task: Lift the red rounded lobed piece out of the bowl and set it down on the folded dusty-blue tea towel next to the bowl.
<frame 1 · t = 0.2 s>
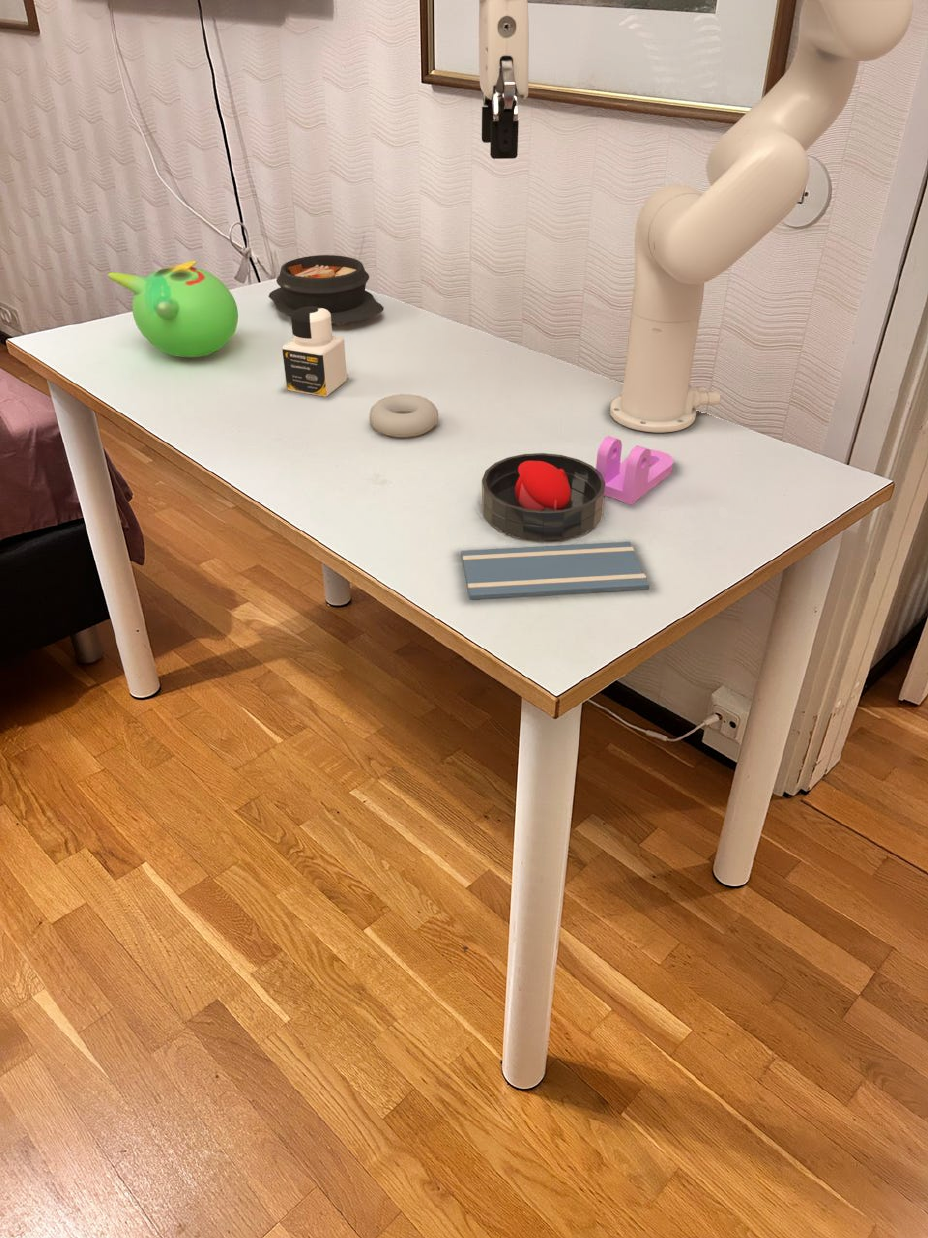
hand: (498, 149, 115), 37 cm above the table, tool pointing down, fingers open, 9 cm apart
toy bird: (190, 354, 159), on the table
casserole: (326, 312, 176), on the table
red rounded lobed piece: (541, 509, 117), resting in bowl
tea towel: (552, 571, 107), on the table
bowl: (541, 510, 117), on the table
medicine bottle: (317, 386, 149), on the table
donut: (404, 427, 137), on the table
bracket: (637, 480, 124), on the table
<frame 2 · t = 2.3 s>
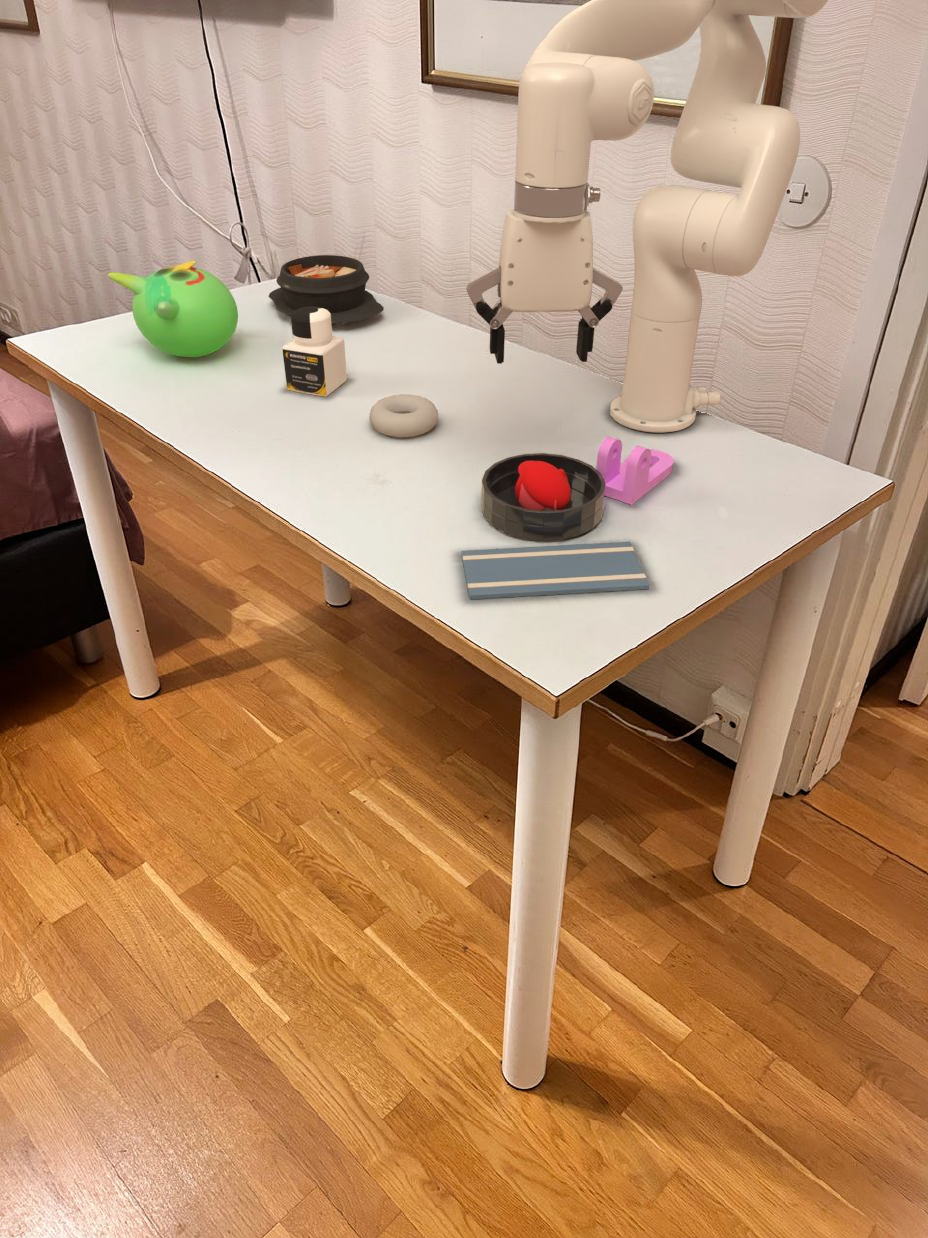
hand: (540, 358, 108), 19 cm above the table, tool pointing down, fingers open, 9 cm apart
nothing on the table moved.
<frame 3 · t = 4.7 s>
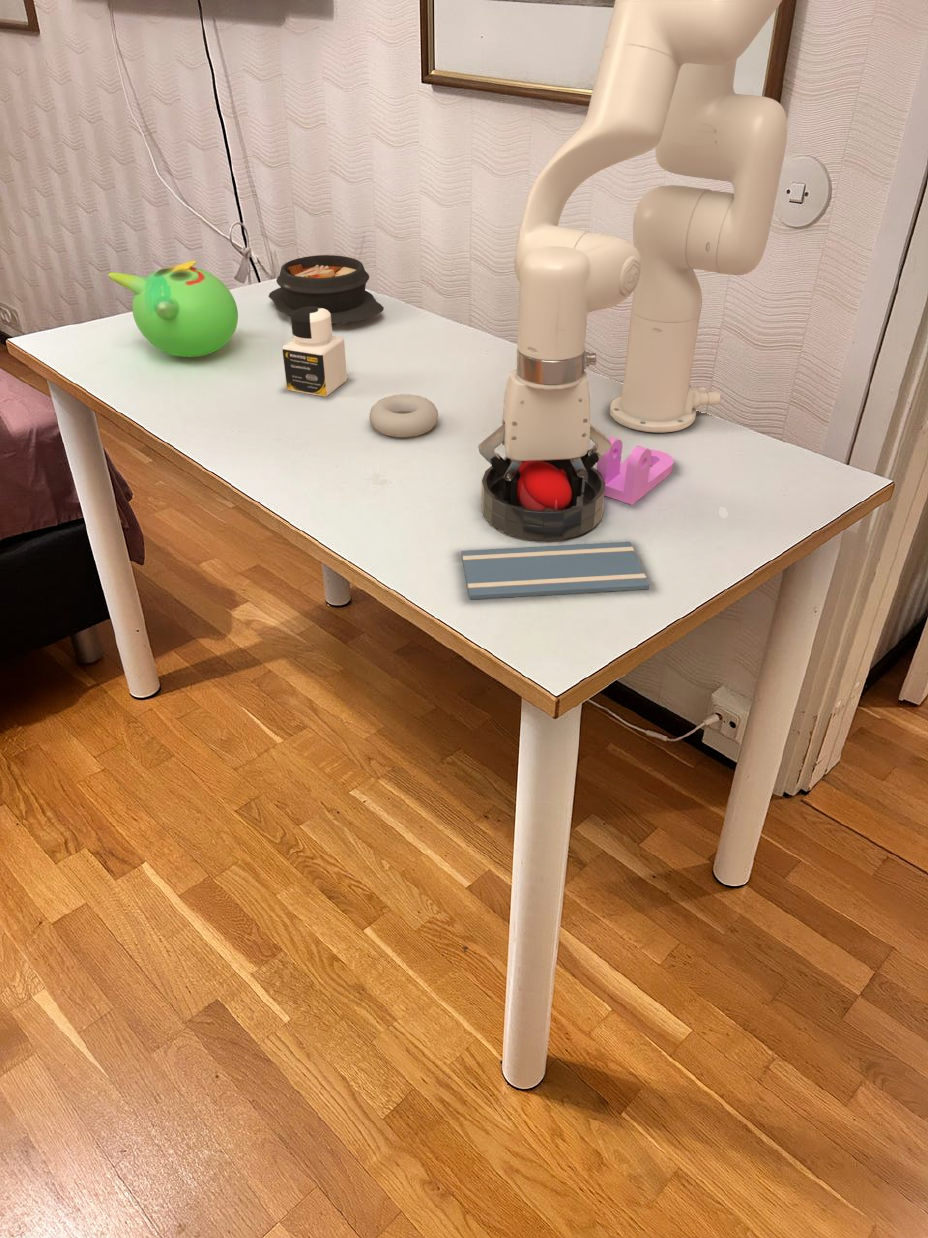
hand: (541, 501, 116), 1 cm above the table, tool pointing down, fingers closed on red rounded lobed piece, 6 cm apart
red rounded lobed piece: (542, 509, 117), resting in bowl, touching gripper
everything else where it was.
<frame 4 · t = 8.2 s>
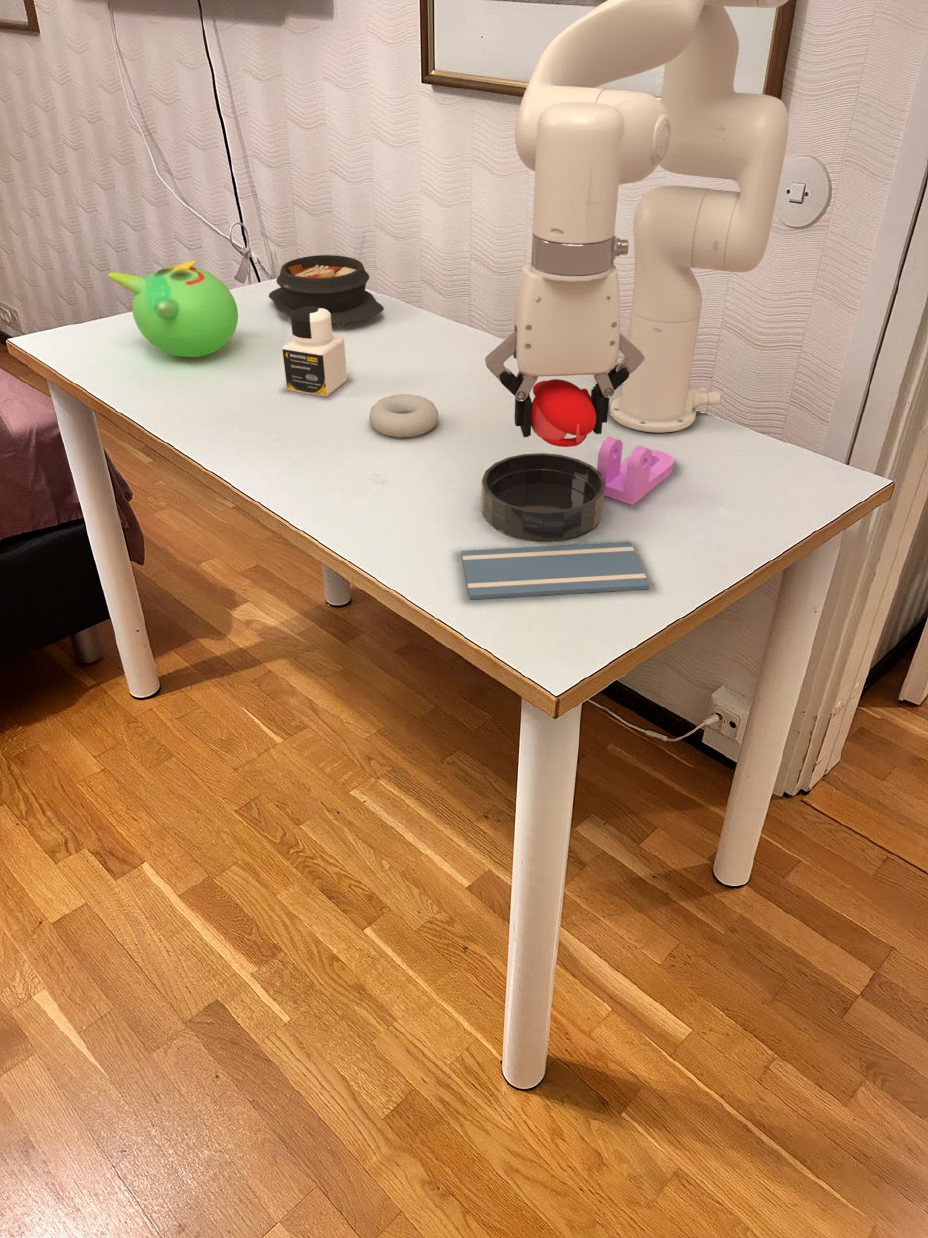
hand: (560, 428, 98), 17 cm above the table, tool pointing down, fingers closed on red rounded lobed piece, 6 cm apart
red rounded lobed piece: (560, 438, 99), point 16 cm above the table, touching gripper
everything else where it was.
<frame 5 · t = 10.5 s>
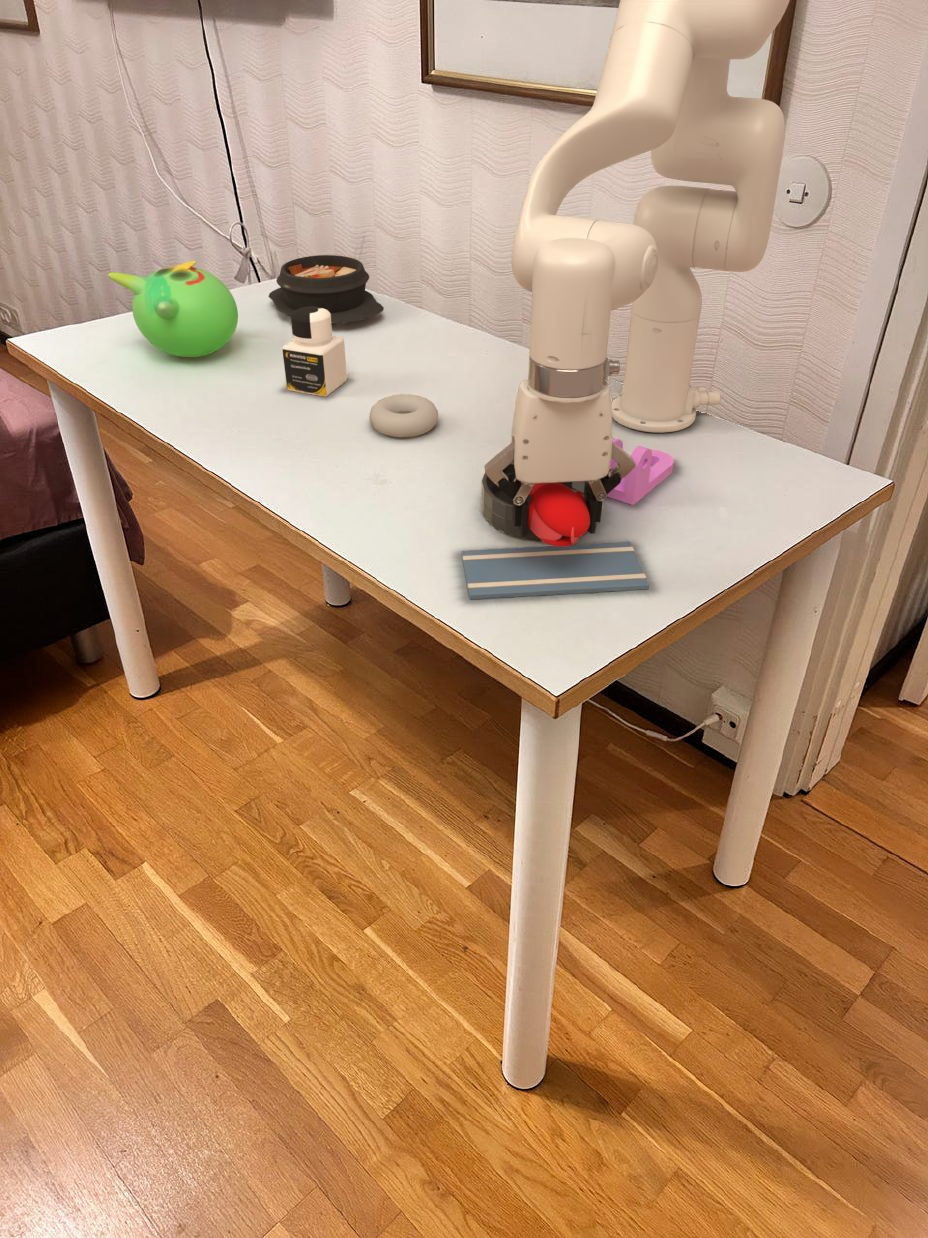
hand: (555, 527, 103), 6 cm above the table, tool pointing down, fingers closed on red rounded lobed piece, 6 cm apart
red rounded lobed piece: (556, 536, 104), point 5 cm above the table, touching gripper
everything else where it was.
when the fingers open (2 cm above the table, at t = 12.1 s): red rounded lobed piece stays where it is, resting on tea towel.
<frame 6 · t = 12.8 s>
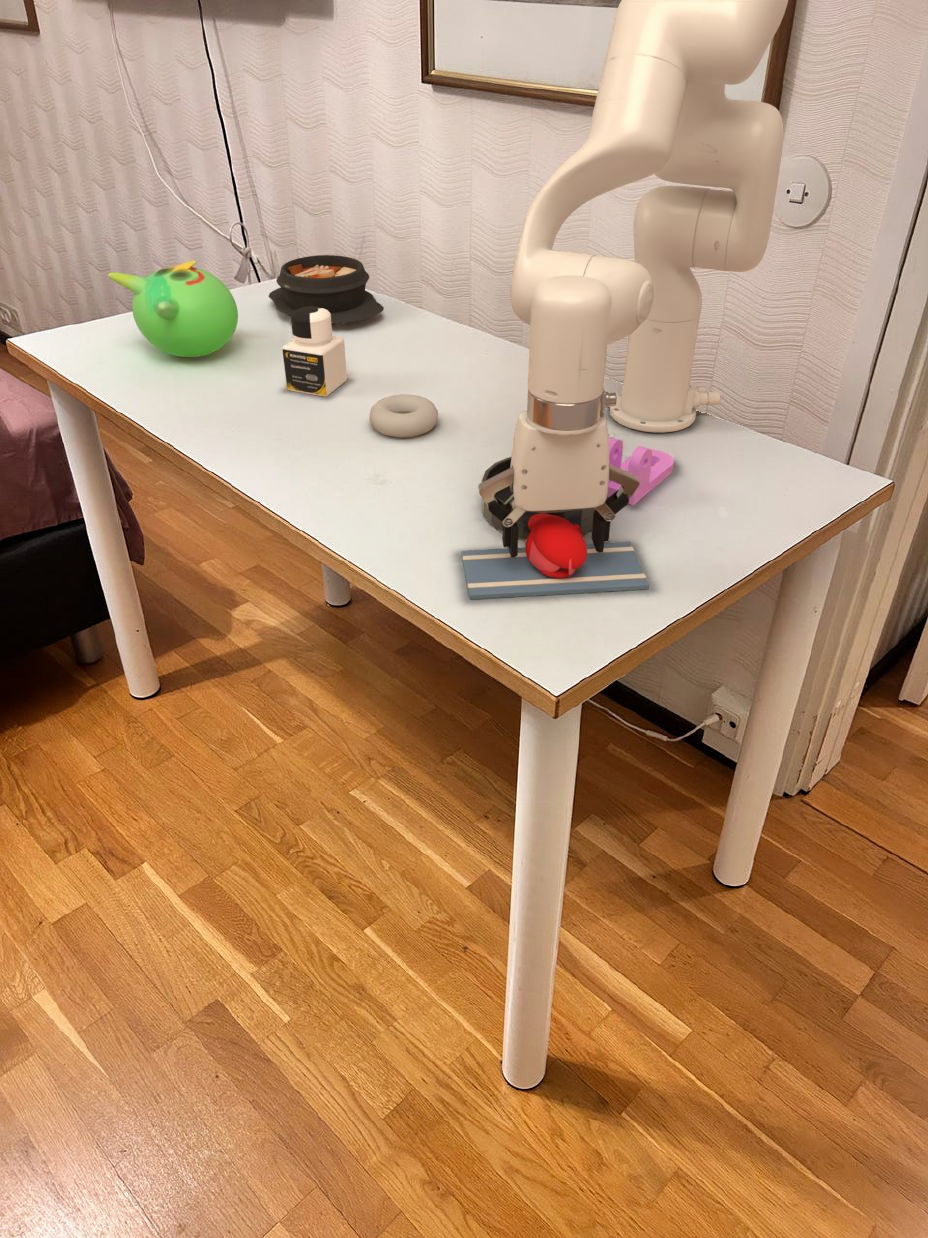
hand: (554, 548, 105), 3 cm above the table, tool pointing down, fingers open, 9 cm apart
red rounded lobed piece: (554, 567, 106), point 1 cm above the table, touching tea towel
everything else where it was.
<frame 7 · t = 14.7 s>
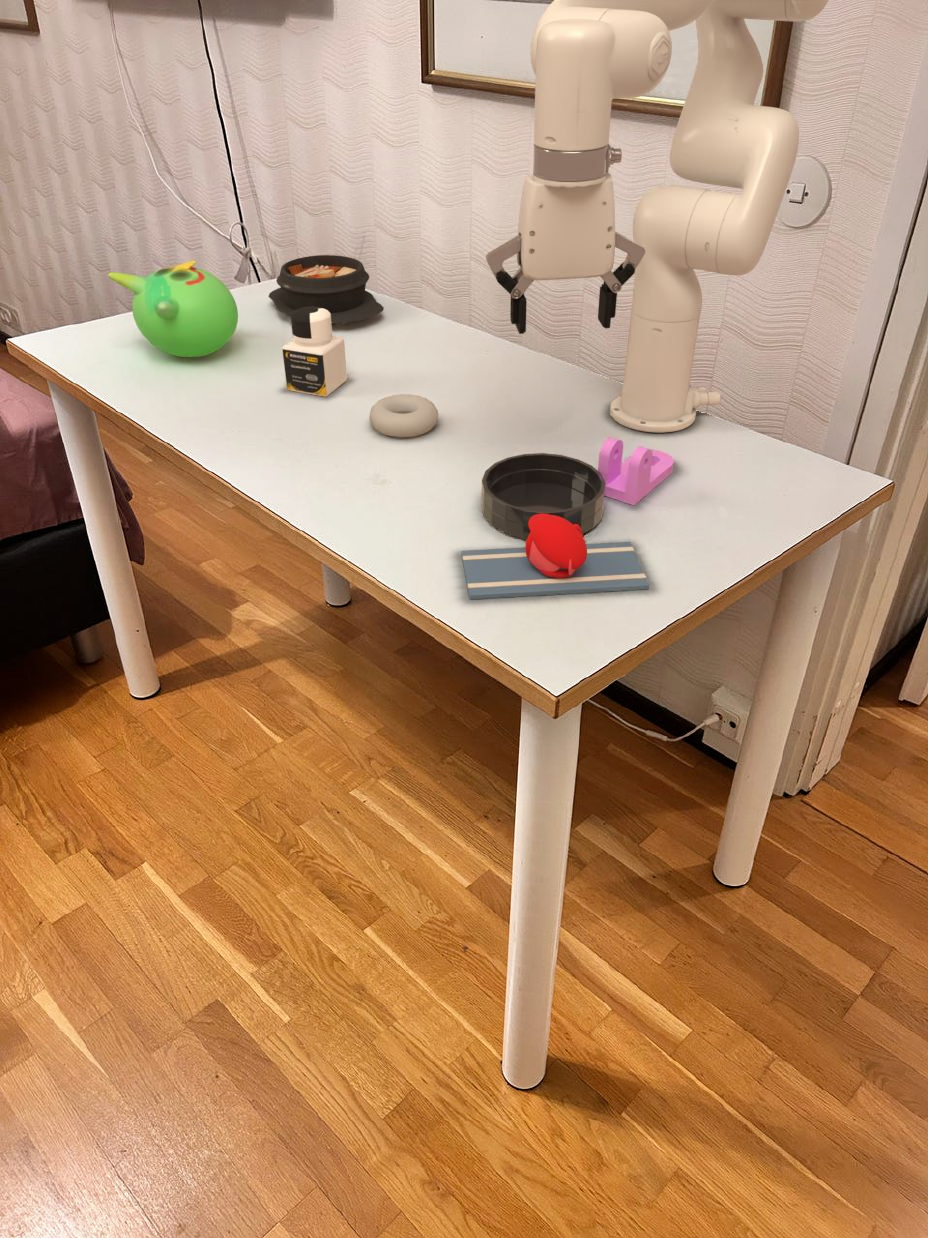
hand: (562, 326, 106), 22 cm above the table, tool pointing down, fingers open, 9 cm apart
nothing on the table moved.
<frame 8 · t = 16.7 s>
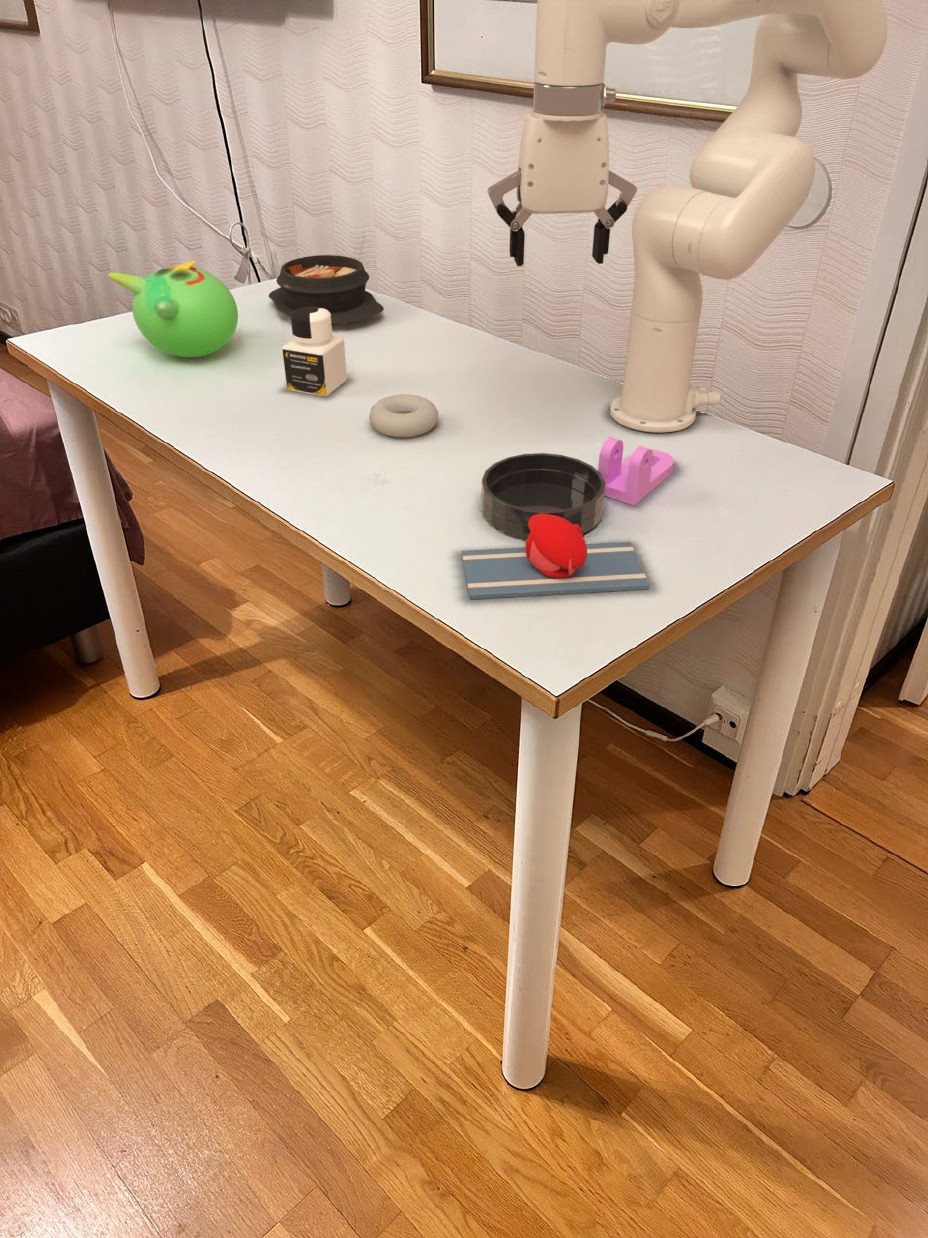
hand: (558, 261, 113), 26 cm above the table, tool pointing down, fingers open, 9 cm apart
nothing on the table moved.
at the end: red rounded lobed piece inside the target area on the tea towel (0.2 cm from its centre), point 0.5 cm above the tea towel's base; red rounded lobed piece tilted 0°; the gripper is holding nothing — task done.
